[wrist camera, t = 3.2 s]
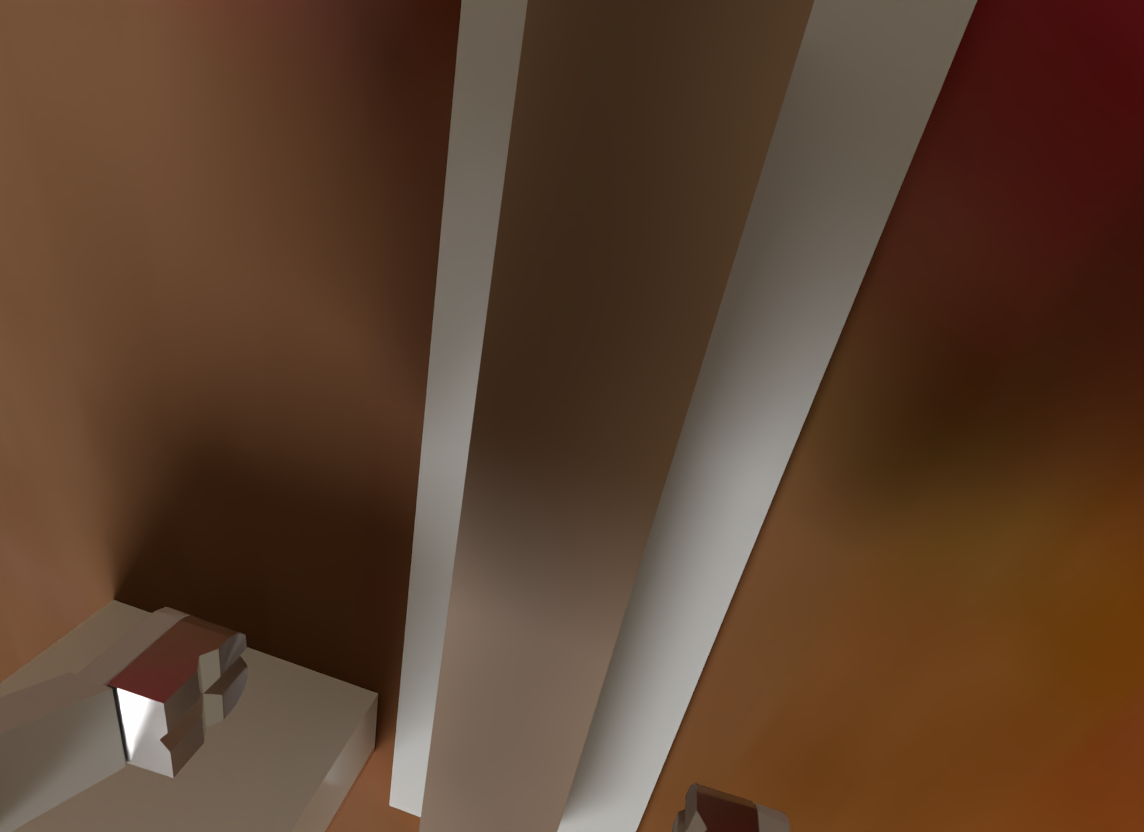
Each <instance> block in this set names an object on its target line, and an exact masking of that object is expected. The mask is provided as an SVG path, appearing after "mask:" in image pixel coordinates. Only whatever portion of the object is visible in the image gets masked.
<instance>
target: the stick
mask: <svg viewBox="0 0 1144 832" xmlns="http://www.w3.org/2000/svg"><path fill="white" fill-rule="evenodd" d="M813 4H814V0H528V2H527V10H526V17H525V25H524V32H523V40H522V48H521V55H520V63H519V71H518V78H517V86H516V94H515V101H514V109H513V116H512V124H511V132H510V139H509V147H508V155H507V162H506V170H505V178H504V185H503V193H502V201H501V208H500V216H499V223H498V231H497V239H496V246H495V254H494V262H493V269H492V277H491V285H490V292H489V300H488V308H487V315H486V323H485V330H484V338H483V346H482V353H481V361H480V369H479V376H478V384H477V392H476V399H475V407H474V414H473V422H472V430H471V437H470V445H469V453H468V460H467V468H466V476H465V483H464V491H463V499H462V506H461V514H460V521H459V529H458V537H457V544H456V552H455V560H454V567H453V575H452V583H451V590H450V598H449V606H448V613H447V621H446V628H445V636H444V644H443V651H442V659H441V667H440V674H439V682H438V690H437V697H436V705H435V713H434V720H433V728H432V735H431V743H430V751H429V758H428V766H427V774H426V781H425V789H424V797H423V804H422V812H421V819H420V827H419V832H557V831H558V828H559V825H560V822H561V818H562V815H563V812H564V809H565V805H566V802H567V799H568V796H569V792H570V789H571V786H572V783H573V780H574V776H575V773H576V770H577V767H578V763H579V760H580V757H581V754H582V750H583V747H584V744H585V741H586V737H587V734H588V731H589V728H590V725H591V721H592V718H593V715H594V712H595V708H596V705H597V702H598V699H599V695H600V692H601V689H602V686H603V683H604V679H605V676H606V673H607V670H608V666H609V663H610V660H611V657H612V653H613V650H614V647H615V644H616V641H617V637H618V634H619V631H620V628H621V624H622V621H623V618H624V615H625V611H626V608H627V605H628V602H629V598H630V595H631V592H632V589H633V586H634V582H635V579H636V576H637V573H638V569H639V566H640V563H641V560H642V556H643V553H644V550H645V547H646V544H647V540H648V537H649V534H650V531H651V527H652V524H653V521H654V518H655V514H656V511H657V508H658V505H659V501H660V498H661V495H662V492H663V489H664V485H665V482H666V479H667V476H668V472H669V469H670V466H671V463H672V459H673V456H674V453H675V450H676V447H677V443H678V440H679V437H680V434H681V430H682V427H683V424H684V421H685V417H686V414H687V411H688V408H689V405H690V401H691V398H692V395H693V392H694V388H695V385H696V382H697V379H698V375H699V372H700V369H701V366H702V362H703V359H704V356H705V353H706V350H707V346H708V343H709V340H710V337H711V333H712V330H713V327H714V324H715V320H716V317H717V314H718V311H719V308H720V304H721V301H722V298H723V295H724V291H725V288H726V285H727V282H728V278H729V275H730V272H731V269H732V266H733V262H734V259H735V256H736V253H737V249H738V246H739V243H740V240H741V236H742V233H743V230H744V227H745V223H746V220H747V217H748V214H749V211H750V207H751V204H752V201H753V198H754V194H755V191H756V188H757V185H758V181H759V178H760V175H761V172H762V169H763V165H764V162H765V159H766V156H767V152H768V149H769V146H770V143H771V139H772V136H773V133H774V130H775V126H776V123H777V120H778V117H779V114H780V110H781V107H782V104H783V101H784V97H785V94H786V91H787V88H788V84H789V81H790V78H791V75H792V72H793V68H794V65H795V62H796V59H797V55H798V52H799V49H800V46H801V42H802V39H803V36H804V33H805V30H806V26H807V23H808V20H809V17H810V13H811V10H812V7H813Z"/></svg>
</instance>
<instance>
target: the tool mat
mask: <svg viewBox="0 0 1144 832" xmlns="http://www.w3.org/2000/svg"><path fill="white" fill-rule="evenodd" d="M527 2H528V0H462V2H461V14H460V25H459V36H458V47H457V58H456V69H455V80H454V92H453V103H452V114H451V125H450V136H449V147H448V158H447V170H446V181H445V192H444V203H443V214H442V225H441V236H440V247H439V259H438V270H437V281H436V292H435V303H434V314H433V325H432V337H431V348H430V359H429V370H428V381H427V392H426V403H425V415H424V426H423V437H422V448H421V459H420V470H419V481H418V492H417V504H416V515H415V526H414V537H413V548H412V559H411V570H410V582H409V593H408V604H407V615H406V626H405V637H404V648H403V660H402V671H401V682H400V693H399V704H398V715H397V726H396V737H395V749H394V760H393V771H392V782H391V793H390V804H389V805H390V806H392V807H395V808H398V809H400V810H403V811H406V812H408V813H411V814H414V815H416V816H419V817H421V812H422V804H423V797H424V789H425V781H426V774H427V766H428V758H429V751H430V743H431V735H432V728H433V720H434V713H435V705H436V697H437V690H438V682H439V674H440V667H441V659H442V651H443V644H444V636H445V628H446V621H447V613H448V606H449V598H450V590H451V583H452V575H453V567H454V560H455V552H456V544H457V537H458V529H459V521H460V514H461V506H462V499H463V491H464V483H465V476H466V468H467V460H468V453H469V445H470V437H471V430H472V422H473V414H474V407H475V399H476V392H477V384H478V376H479V369H480V361H481V353H482V346H483V338H484V330H485V323H486V315H487V308H488V300H489V292H490V285H491V277H492V269H493V262H494V254H495V246H496V239H497V231H498V223H499V216H500V208H501V201H502V193H503V185H504V178H505V170H506V162H507V155H508V147H509V139H510V132H511V124H512V116H513V109H514V101H515V94H516V86H517V78H518V71H519V63H520V55H521V48H522V40H523V32H524V25H525V17H526V10H527ZM976 2H977V0H814V4H813V7H812V10H811V13H810V17H809V20H808V23H807V26H806V30H805V33H804V36H803V39H802V42H801V46H800V49H799V52H798V55H797V59H796V62H795V65H794V68H793V72H792V75H791V78H790V81H789V84H788V88H787V91H786V94H785V97H784V101H783V104H782V107H781V110H780V114H779V117H778V120H777V123H776V126H775V130H774V133H773V136H772V139H771V143H770V146H769V149H768V152H767V156H766V159H765V162H764V165H763V169H762V172H761V175H760V178H759V181H758V185H757V188H756V191H755V194H754V198H753V201H752V204H751V207H750V211H749V214H748V217H747V220H746V223H745V227H744V230H743V233H742V236H741V240H740V243H739V246H738V249H737V253H736V256H735V259H734V262H733V266H732V269H731V272H730V275H729V278H728V282H727V285H726V288H725V291H724V295H723V298H722V301H721V304H720V308H719V311H718V314H717V317H716V320H715V324H714V327H713V330H712V333H711V337H710V340H709V343H708V346H707V350H706V353H705V356H704V359H703V362H702V366H701V369H700V372H699V375H698V379H697V382H696V385H695V388H694V392H693V395H692V398H691V401H690V405H689V408H688V411H687V414H686V417H685V421H684V424H683V427H682V430H681V434H680V437H679V440H678V443H677V447H676V450H675V453H674V456H673V459H672V463H671V466H670V469H669V472H668V476H667V479H666V482H665V485H664V489H663V492H662V495H661V498H660V501H659V505H658V508H657V511H656V514H655V518H654V521H653V524H652V527H651V531H650V534H649V537H648V540H647V544H646V547H645V550H644V553H643V556H642V560H641V563H640V566H639V569H638V573H637V576H636V579H635V582H634V586H633V589H632V592H631V595H630V598H629V602H628V605H627V608H626V611H625V615H624V618H623V621H622V624H621V628H620V631H619V634H618V637H617V641H616V644H615V647H614V650H613V653H612V657H611V660H610V663H609V666H608V670H607V673H606V676H605V679H604V683H603V686H602V689H601V692H600V695H599V699H598V702H597V705H596V708H595V712H594V715H593V718H592V721H591V725H590V728H589V731H588V734H587V737H586V741H585V744H584V747H583V750H582V754H581V757H580V760H579V763H578V767H577V770H576V773H575V776H574V780H573V783H572V786H571V789H570V792H569V796H568V799H567V802H566V805H565V809H564V812H563V815H562V818H561V822H560V825H559V828H558V831H557V832H636V830H637V828H638V825H639V823H640V821H641V818H642V816H643V813H644V811H645V808H646V806H647V804H648V801H649V799H650V796H651V794H652V791H653V789H654V787H655V784H656V782H657V779H658V777H659V774H660V772H661V769H662V767H663V765H664V762H665V760H666V757H667V755H668V752H669V750H670V748H671V745H672V743H673V740H674V738H675V735H676V733H677V731H678V728H679V726H680V723H681V721H682V718H683V716H684V713H685V711H686V709H687V706H688V704H689V701H690V699H691V696H692V694H693V692H694V689H695V687H696V684H697V682H698V679H699V677H700V675H701V672H702V670H703V667H704V665H705V662H706V660H707V657H708V655H709V653H710V650H711V648H712V645H713V643H714V640H715V638H716V636H717V633H718V631H719V628H720V626H721V623H722V621H723V618H724V616H725V614H726V611H727V609H728V606H729V604H730V601H731V599H732V597H733V594H734V592H735V589H736V587H737V584H738V582H739V580H740V577H741V575H742V572H743V570H744V567H745V565H746V562H747V560H748V558H749V555H750V553H751V550H752V548H753V545H754V543H755V541H756V538H757V536H758V533H759V531H760V528H761V526H762V524H763V521H764V519H765V516H766V514H767V511H768V509H769V506H770V504H771V502H772V499H773V497H774V494H775V492H776V489H777V487H778V485H779V482H780V480H781V477H782V475H783V472H784V470H785V468H786V465H787V463H788V460H789V458H790V455H791V453H792V450H793V448H794V446H795V443H796V441H797V438H798V436H799V433H800V431H801V429H802V426H803V424H804V421H805V419H806V416H807V414H808V411H809V409H810V407H811V404H812V402H813V399H814V397H815V394H816V392H817V390H818V387H819V385H820V382H821V380H822V377H823V375H824V373H825V370H826V368H827V365H828V363H829V360H830V358H831V355H832V353H833V351H834V348H835V346H836V343H837V341H838V338H839V336H840V334H841V331H842V329H843V326H844V324H845V321H846V319H847V317H848V314H849V312H850V309H851V307H852V304H853V302H854V299H855V297H856V295H857V292H858V290H859V287H860V285H861V282H862V280H863V278H864V275H865V273H866V270H867V268H868V265H869V263H870V261H871V258H872V256H873V253H874V251H875V248H876V246H877V243H878V241H879V239H880V236H881V234H882V231H883V229H884V226H885V224H886V222H887V219H888V217H889V214H890V212H891V209H892V207H893V205H894V202H895V200H896V197H897V195H898V192H899V190H900V187H901V185H902V183H903V180H904V178H905V175H906V173H907V170H908V168H909V166H910V163H911V161H912V158H913V156H914V153H915V151H916V148H917V146H918V144H919V141H920V139H921V136H922V134H923V131H924V129H925V127H926V124H927V122H928V119H929V117H930V114H931V112H932V110H933V107H934V105H935V102H936V100H937V97H938V95H939V92H940V90H941V88H942V85H943V83H944V80H945V78H946V75H947V73H948V71H949V68H950V66H951V63H952V61H953V58H954V56H955V54H956V51H957V49H958V46H959V44H960V41H961V39H962V36H963V34H964V32H965V29H966V27H967V24H968V22H969V19H970V17H971V15H972V12H973V10H974V7H975V5H976Z"/></svg>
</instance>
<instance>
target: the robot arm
mask: <svg viewBox="0 0 1144 832" xmlns="http://www.w3.org/2000/svg"><path fill="white" fill-rule="evenodd" d="M246 649H247V644H246V635H245V634H242V633H240V632H237V631H234V630H231V629H228V628H226V627H223V626H220V625H217V624H214V623H211V622H209V621H206V620H203V619H200V618H197V617H195V616H193V615H190V614H187V613H184V612H181V611H178V610H175V609H172V608H169V607H164V608H161V609H159V610H156V611H154V612H153V613H152V614H150V615H149V616H148V617H147V618H145V619H144V620H143V621H142V622H141V623H139V624H138V625H137V626H136V627H134V628H133V629H132V630H131V631H130V632H128V633H127V634H126V635H125V636H123V637H122V638H121V639H120V640H119V641H117V642H116V643H115V644H114V645H112V646H111V647H110V648H109V649H108V650H106V651H105V652H104V653H103V654H101V655H100V656H99V657H98V658H97V659H95V660H94V661H93V662H92V663H90V664H89V665H88V666H87V667H86V668H84V669H83V670H82V671H81V672H79V673H78V674H77V675H74V674H71V673H66V674H63V675H61V676H58V677H55V678H52V679H50V680H47V681H44V682H41V683H38V684H36V685H33V686H30V687H27V688H25V689H22V690H19V691H16V692H14V693H11V694H8V695H5V696H2V697H0V832H11V831H13V830H15V829H16V828H18V827H20V826H22V825H24V824H25V823H27V822H29V821H31V820H32V819H34V818H36V817H38V816H39V815H41V814H43V813H45V812H46V811H48V810H50V809H52V808H54V807H55V806H57V805H59V804H61V803H62V802H64V801H66V800H68V799H69V798H71V797H73V796H75V795H76V794H78V793H80V792H82V791H84V790H85V789H87V788H89V787H91V786H92V785H94V784H96V783H98V782H99V781H101V780H103V779H105V778H106V777H108V776H110V775H112V774H114V773H115V772H117V771H119V770H121V769H122V768H124V767H126V763H129V764H132V765H135V766H138V767H141V768H144V769H147V770H150V771H153V772H156V773H159V774H162V775H165V776H169V777H172V778H174V777H175V776H176V775H177V774H178V772H179V771H180V770H181V769H182V768H183V767H184V765H185V764H186V763H187V762H188V761H189V760H190V759H191V757H192V756H193V755H194V754H195V753H196V752H197V750H198V749H199V748H200V747H201V746H202V745H203V743H204V740H205V731H206V728H208V727H210V726H212V725H214V724H216V723H218V722H220V721H223V720H224V719H225V718H226V717H227V715H228V714H229V713H230V712H231V710H232V709H233V708H234V707H235V706H236V704H237V702H238V700H239V698H240V696H241V695H242V693H243V691H244V689H245V686H246V682H247V678H248V666H247V664H246V663H245V661H244V660H243V659H242V657H241V656H240V655H241V654H242V653H243V652H244V651H245V650H246ZM672 832H790V824H789V820H788V818H787V816H786V814H785V813H783V812H781V811H778V810H775V809H772V808H769V807H765V806H762V805H759V804H756V803H753V802H752V801H750V800H747V799H744V798H741V797H737V796H734V795H731V794H728V793H725V792H722V791H718V790H715V789H712V788H709V787H706V786H703V785H699V784H696V783H694V784H692V785H691V786H690V788H689V790H688V792H687V794H686V807H685V810H682V811H680V812H678V814H677V817H676V819H675V822H674V824H673V827H672Z"/></svg>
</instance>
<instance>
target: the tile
mask: <svg viewBox="0 0 1144 832" xmlns="http://www.w3.org/2000/svg"><path fill="white" fill-rule="evenodd" d="M150 614H152V613H150V612H147V611H144V610H141V609H138V608H136V607H133V606H130V605H127V604H124V603H121V602H119V601H116V600H112V601H111V602H109V603H108V604H107V605H105V606H104V607H103V608H101V609H100V610H99V611H97V612H96V613H95V614H93V615H92V616H90V617H89V618H88V619H86V620H85V621H84V622H82V623H81V624H80V625H78V626H77V627H76V628H74V629H73V630H72V631H70V632H69V633H68V634H66V635H65V636H63V637H62V638H61V639H59V640H58V641H57V642H55V643H54V644H53V645H51V646H50V647H49V648H47V649H46V650H45V651H43V652H42V653H41V654H39V655H38V656H36V657H35V658H34V659H32V660H31V661H30V662H28V663H27V664H26V665H24V666H23V667H22V668H20V669H19V670H18V671H16V672H15V673H14V674H12V675H11V676H9V677H8V678H7V679H5V680H4V681H3V682H1V683H0V697H2V696H5V695H8V694H11V693H14V692H16V691H19V690H22V689H25V688H27V687H30V686H33V685H36V684H38V683H41V682H44V681H47V680H50V679H52V678H55V677H58V676H61V675H63V674H66V673H71V674H74V675H77V674H78V673H79V672H81V671H82V670H83V669H84V668H86V667H87V666H88V665H89V664H90V663H92V662H93V661H94V660H95V659H97V658H98V657H99V656H100V655H101V654H103V653H104V652H105V651H106V650H108V649H109V648H110V647H111V646H112V645H114V644H115V643H116V642H117V641H119V640H120V639H121V638H122V637H123V636H125V635H126V634H127V633H128V632H130V631H131V630H132V629H133V628H134V627H136V626H137V625H138V624H139V623H141V622H142V621H143V620H144V619H145V618H147V617H148V616H149V615H150ZM240 656H241V657H242V659H243V660H244V661H245V663H246V664H247V666H248V678H247V682H246V686H245V689H244V691H243V693H242V695H241V696H240V698H239V700H238V702H237V704H236V706H235V707H234V708H233V709H232V710H231V712H230V713H229V714H228V715H227V717H226V718H225V719H224V720H223V721H220V722H218V723H216V724H214V725H212V726H210V727H208V728H206V731H205V740H204V743H203V745H202V746H201V747H200V748H199V749H198V750H197V752H196V753H195V754H194V755H193V756H192V757H191V759H190V760H189V761H188V762H187V763H186V764H185V765H184V767H183V768H182V769H181V770H180V771H179V772H178V774H177V775H176V776H175V777H174V778H172V777H169V776H165V775H162V774H159V773H156V772H153V771H150V770H147V769H144V768H141V767H138V766H135V765H132V764H129V763H126V767H124V768H122V769H121V770H119V771H117V772H115V773H114V774H112V775H110V776H108V777H106V778H105V779H103V780H101V781H99V782H98V783H96V784H94V785H92V786H91V787H89V788H87V789H85V790H84V791H82V792H80V793H78V794H76V795H75V796H73V797H71V798H69V799H68V800H66V801H64V802H62V803H61V804H59V805H57V806H55V807H54V808H52V809H50V810H48V811H46V812H45V813H43V814H41V815H39V816H38V817H36V818H34V819H32V820H31V821H29V822H27V823H25V824H24V825H22V826H20V827H18V828H16V829H15V830H13V831H11V832H328V831H329V829H330V828H331V826H332V824H333V822H334V821H335V819H336V817H337V815H338V814H339V812H340V810H341V809H342V807H343V805H344V803H345V802H346V800H347V798H348V796H349V795H350V793H351V791H352V790H353V788H354V786H355V784H356V783H357V781H358V779H359V778H360V776H361V774H362V772H363V771H364V769H365V767H366V765H367V764H368V762H369V760H370V759H371V757H372V755H373V753H374V751H375V736H376V721H377V706H378V693H375V692H373V691H370V690H367V689H364V688H361V687H358V686H356V685H353V684H350V683H347V682H344V681H342V680H339V679H336V678H333V677H330V676H327V675H325V674H322V673H319V672H316V671H313V670H310V669H308V668H305V667H302V666H299V665H296V664H294V663H291V662H288V661H285V660H282V659H279V658H277V657H274V656H271V655H268V654H265V653H263V652H260V651H257V650H254V649H251V648H248V647H247V649H246V650H245V651H244V652H243V653H242V654H241V655H240Z"/></svg>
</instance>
